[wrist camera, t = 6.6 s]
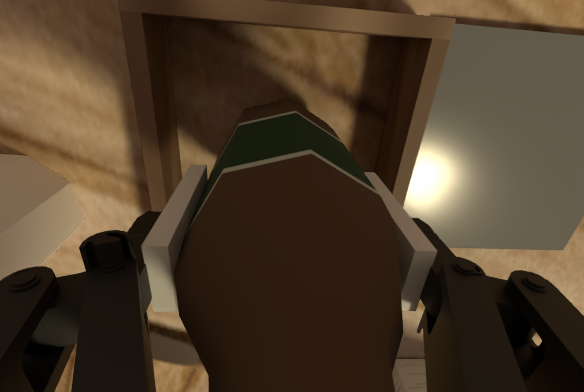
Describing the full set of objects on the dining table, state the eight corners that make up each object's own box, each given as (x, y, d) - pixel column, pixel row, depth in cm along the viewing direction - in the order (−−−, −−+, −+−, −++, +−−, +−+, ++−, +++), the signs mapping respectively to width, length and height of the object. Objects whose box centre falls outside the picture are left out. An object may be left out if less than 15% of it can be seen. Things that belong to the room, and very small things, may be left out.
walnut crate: (175, 234, 26) (160, 265, 22) (146, -5, 18) (115, -15, 14) (370, 239, 27) (385, 269, 24) (422, 21, 19) (456, 18, 16)
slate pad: (381, 239, 27) (385, 246, 26) (437, 23, 20) (445, 22, 19) (553, 243, 29) (562, 250, 28) (669, 45, 21) (687, 45, 20)
